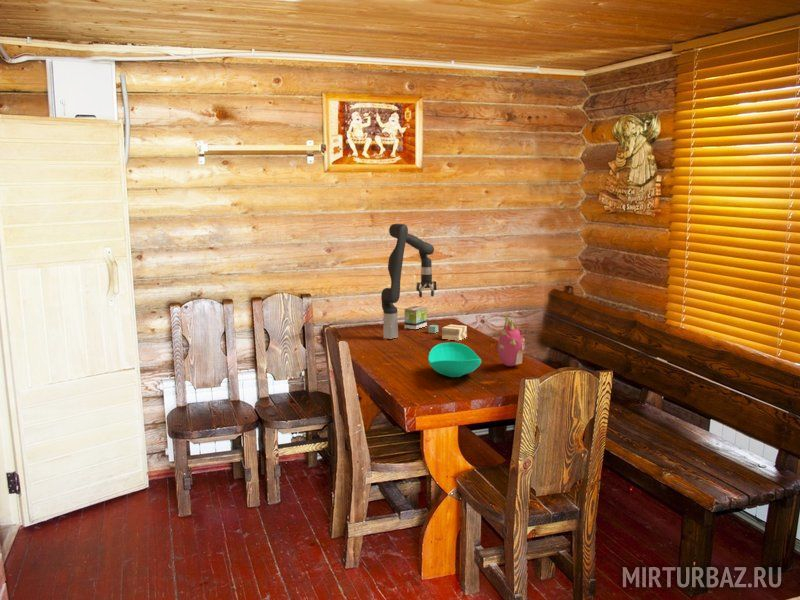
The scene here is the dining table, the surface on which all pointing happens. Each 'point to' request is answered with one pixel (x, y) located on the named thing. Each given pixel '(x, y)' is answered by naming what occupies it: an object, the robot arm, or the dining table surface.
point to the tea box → (415, 317)
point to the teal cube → (433, 328)
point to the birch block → (454, 332)
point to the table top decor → (453, 359)
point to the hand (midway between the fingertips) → (426, 296)
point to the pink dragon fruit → (511, 344)
